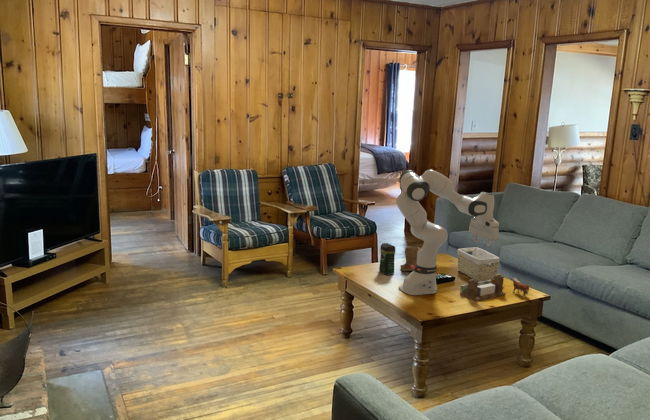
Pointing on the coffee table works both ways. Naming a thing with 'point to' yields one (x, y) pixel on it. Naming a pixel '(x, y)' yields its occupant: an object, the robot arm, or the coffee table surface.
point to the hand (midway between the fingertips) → (481, 244)
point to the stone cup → (410, 258)
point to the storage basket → (478, 263)
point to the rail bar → (486, 289)
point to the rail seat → (471, 287)
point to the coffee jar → (387, 258)
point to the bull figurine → (520, 286)
